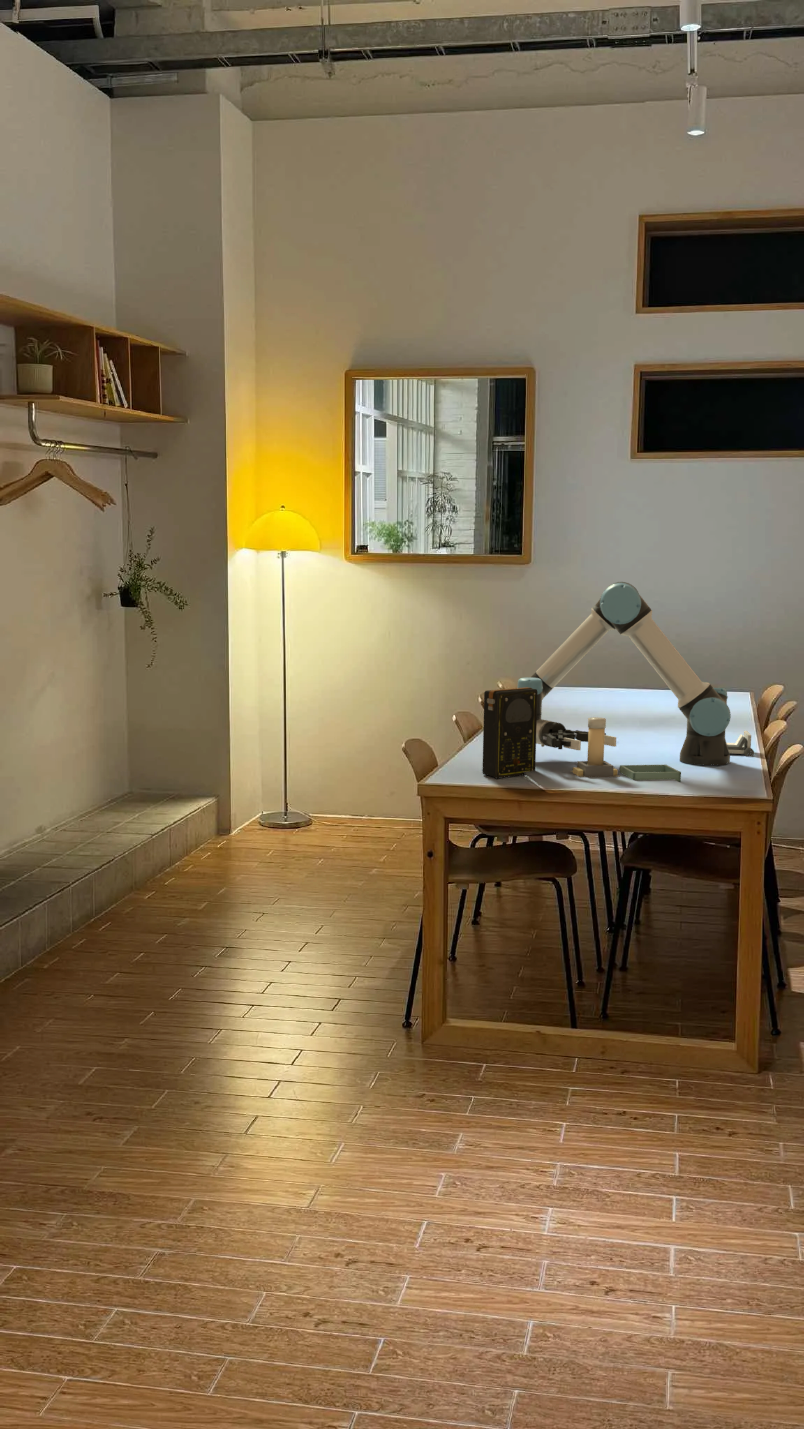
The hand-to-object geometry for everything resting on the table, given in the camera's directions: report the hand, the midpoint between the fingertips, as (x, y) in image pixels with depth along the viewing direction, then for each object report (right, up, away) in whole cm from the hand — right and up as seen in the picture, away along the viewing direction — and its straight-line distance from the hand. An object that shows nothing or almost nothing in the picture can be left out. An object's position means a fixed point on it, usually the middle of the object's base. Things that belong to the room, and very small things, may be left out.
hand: (597, 743), depth 377 cm
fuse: (0, -9, +2) cm, 9 cm away
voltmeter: (-25, -9, +5) cm, 27 cm away
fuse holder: (0, -10, +2) cm, 10 cm away
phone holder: (+47, -4, +49) cm, 68 cm away
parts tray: (+15, -10, +1) cm, 18 cm away
